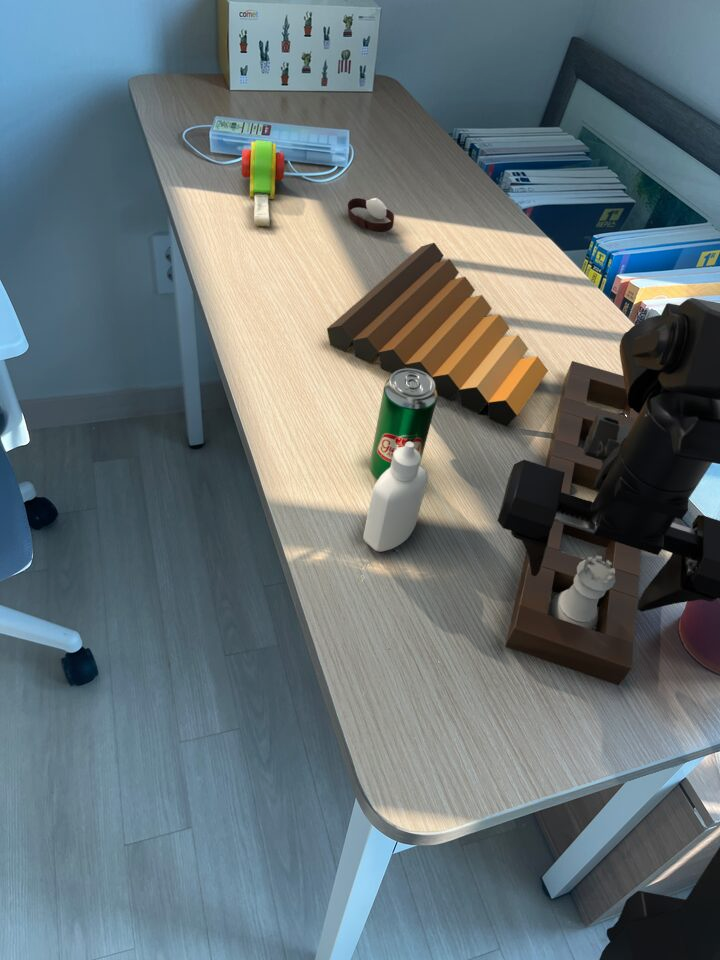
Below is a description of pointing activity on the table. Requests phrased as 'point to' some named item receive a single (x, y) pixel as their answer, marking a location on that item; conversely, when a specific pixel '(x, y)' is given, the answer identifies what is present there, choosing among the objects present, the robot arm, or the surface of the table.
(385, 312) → the pan flute
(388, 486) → the eye dropper bottle
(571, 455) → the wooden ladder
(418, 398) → the soda can
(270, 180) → the toy measuring tape
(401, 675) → the table surface
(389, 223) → the watch
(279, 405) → the table surface
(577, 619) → the rook chess piece
